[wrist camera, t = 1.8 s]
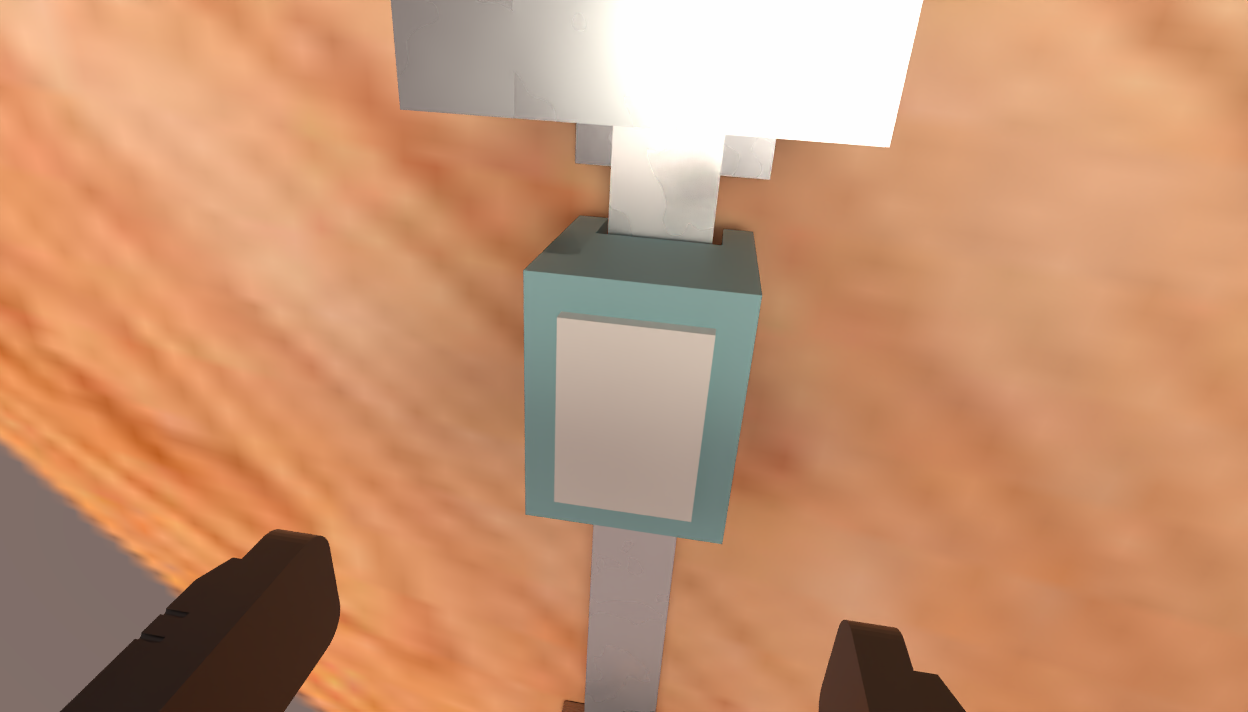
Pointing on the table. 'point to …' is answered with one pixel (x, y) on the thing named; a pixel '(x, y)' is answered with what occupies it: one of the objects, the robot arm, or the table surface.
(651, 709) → the rail
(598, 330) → the carriage
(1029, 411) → the table surface
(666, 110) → the cabinet
